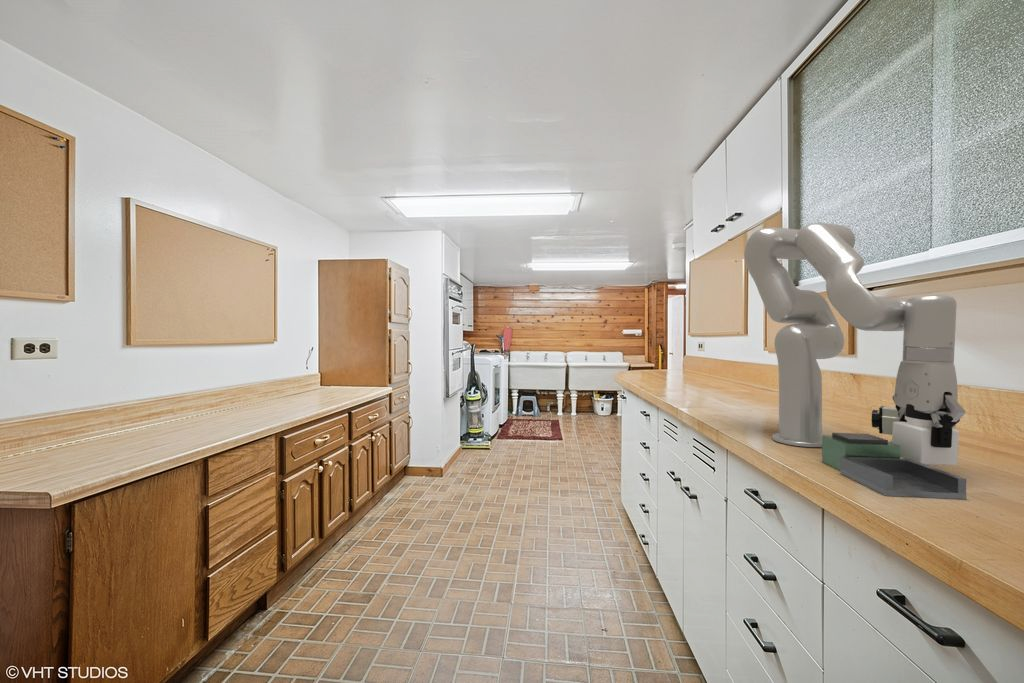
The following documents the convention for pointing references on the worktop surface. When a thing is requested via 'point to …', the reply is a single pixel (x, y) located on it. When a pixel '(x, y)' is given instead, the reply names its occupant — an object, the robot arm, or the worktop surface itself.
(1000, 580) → the worktop surface
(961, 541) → the worktop surface
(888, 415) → the pneumatic valve
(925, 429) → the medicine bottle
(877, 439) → the grey and green bracket
